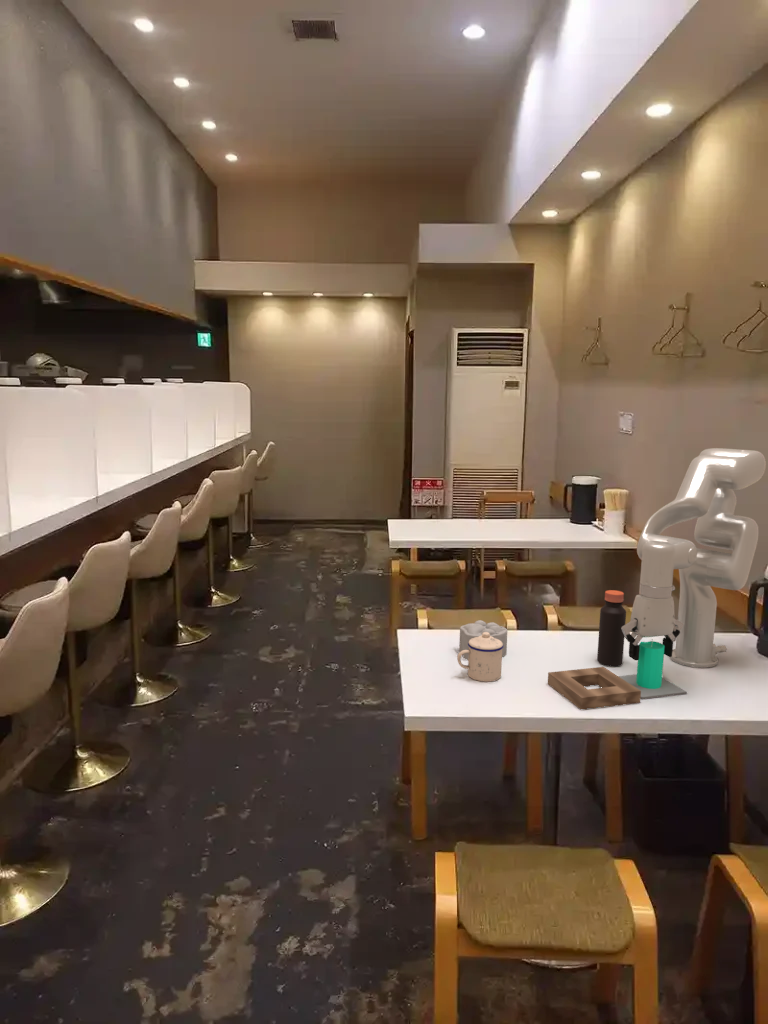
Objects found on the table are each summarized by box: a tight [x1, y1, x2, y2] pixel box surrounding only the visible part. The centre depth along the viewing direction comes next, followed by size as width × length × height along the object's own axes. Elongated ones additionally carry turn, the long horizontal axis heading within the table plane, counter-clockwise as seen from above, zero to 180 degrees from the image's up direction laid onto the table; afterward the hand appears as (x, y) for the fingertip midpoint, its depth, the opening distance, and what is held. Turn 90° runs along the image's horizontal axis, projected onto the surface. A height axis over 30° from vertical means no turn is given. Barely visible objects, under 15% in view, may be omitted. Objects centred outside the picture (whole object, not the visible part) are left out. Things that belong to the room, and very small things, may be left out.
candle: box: [636, 638, 665, 689], centre depth 184 cm, size 6×6×12 cm
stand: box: [547, 666, 641, 710], centre depth 180 cm, size 16×16×3 cm
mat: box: [618, 673, 688, 700], centre depth 185 cm, size 13×13×1 cm
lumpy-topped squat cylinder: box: [458, 619, 508, 660], centre depth 206 cm, size 10×13×9 cm
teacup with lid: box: [456, 632, 503, 683], centre depth 189 cm, size 12×9×12 cm
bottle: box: [596, 589, 627, 668], centre depth 199 cm, size 7×7×20 cm
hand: (650, 656), depth 183 cm, fingers open, 9 cm apart
